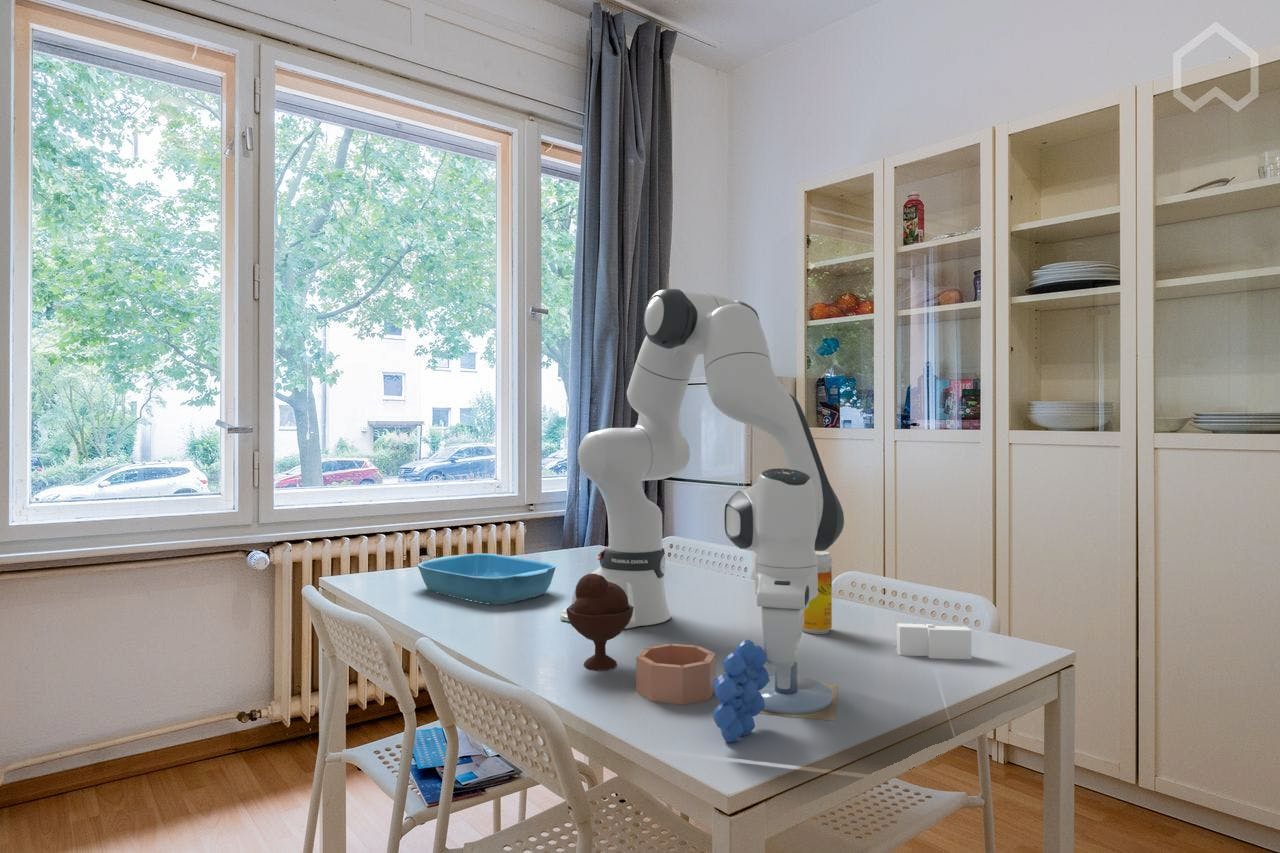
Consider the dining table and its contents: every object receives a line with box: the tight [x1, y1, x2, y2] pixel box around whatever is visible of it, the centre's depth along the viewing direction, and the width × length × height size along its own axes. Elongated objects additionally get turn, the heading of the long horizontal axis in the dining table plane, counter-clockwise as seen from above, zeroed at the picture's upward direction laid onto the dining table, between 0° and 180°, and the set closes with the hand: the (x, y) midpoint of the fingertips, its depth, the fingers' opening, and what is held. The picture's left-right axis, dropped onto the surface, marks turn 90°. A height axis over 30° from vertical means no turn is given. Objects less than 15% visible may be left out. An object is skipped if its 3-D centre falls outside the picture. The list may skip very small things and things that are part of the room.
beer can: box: [802, 550, 833, 635], centre depth 146 cm, size 6×6×15 cm
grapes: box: [712, 639, 770, 744], centre depth 97 cm, size 12×7×12 cm, turn 143°
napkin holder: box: [896, 622, 972, 660], centre depth 131 cm, size 15×11×6 cm
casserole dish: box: [417, 552, 557, 605], centre depth 181 cm, size 37×22×7 cm, turn 49°
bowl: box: [635, 643, 717, 705], centre depth 113 cm, size 11×11×6 cm
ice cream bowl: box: [566, 573, 634, 671], centre depth 126 cm, size 11×11×15 cm
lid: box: [758, 660, 833, 715], centre depth 109 cm, size 13×13×5 cm
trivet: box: [758, 684, 839, 722], centre depth 109 cm, size 14×14×1 cm
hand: (786, 678), depth 110 cm, fingers open, 6 cm apart
